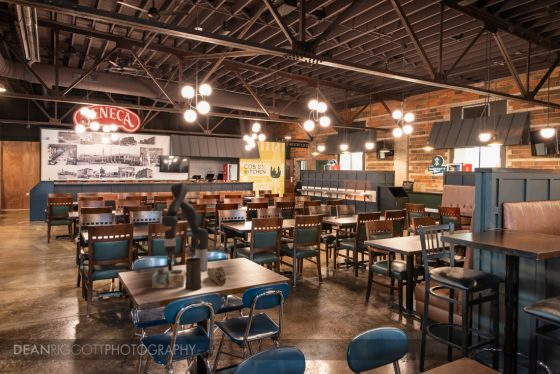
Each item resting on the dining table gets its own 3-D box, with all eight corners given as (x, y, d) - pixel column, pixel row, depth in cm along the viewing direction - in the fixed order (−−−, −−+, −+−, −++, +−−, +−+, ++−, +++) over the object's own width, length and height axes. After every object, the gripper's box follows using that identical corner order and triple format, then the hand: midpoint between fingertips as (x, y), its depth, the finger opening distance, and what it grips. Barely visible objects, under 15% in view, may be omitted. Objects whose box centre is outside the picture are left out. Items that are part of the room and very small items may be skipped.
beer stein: (186, 285, 253) (186, 257, 251) (202, 285, 253) (202, 256, 252) (182, 294, 237) (182, 263, 235) (199, 293, 238) (199, 263, 236)
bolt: (172, 272, 257) (172, 262, 257) (172, 273, 254) (172, 263, 254) (160, 272, 256) (160, 263, 256) (159, 273, 253) (159, 264, 253)
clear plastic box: (185, 281, 264) (184, 265, 264) (183, 286, 250) (182, 270, 250) (155, 282, 261) (155, 267, 261) (152, 288, 247) (152, 271, 247)
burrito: (215, 286, 251) (215, 272, 251) (204, 277, 275) (204, 264, 274) (229, 285, 255) (229, 270, 255) (216, 276, 279) (216, 262, 279)
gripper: (174, 246, 249) (174, 272, 249) (176, 243, 263) (177, 267, 263) (162, 246, 248) (163, 272, 248) (165, 243, 261) (166, 267, 262)
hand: (170, 269), depth 256 cm, fingers closed on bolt, 3 cm apart
